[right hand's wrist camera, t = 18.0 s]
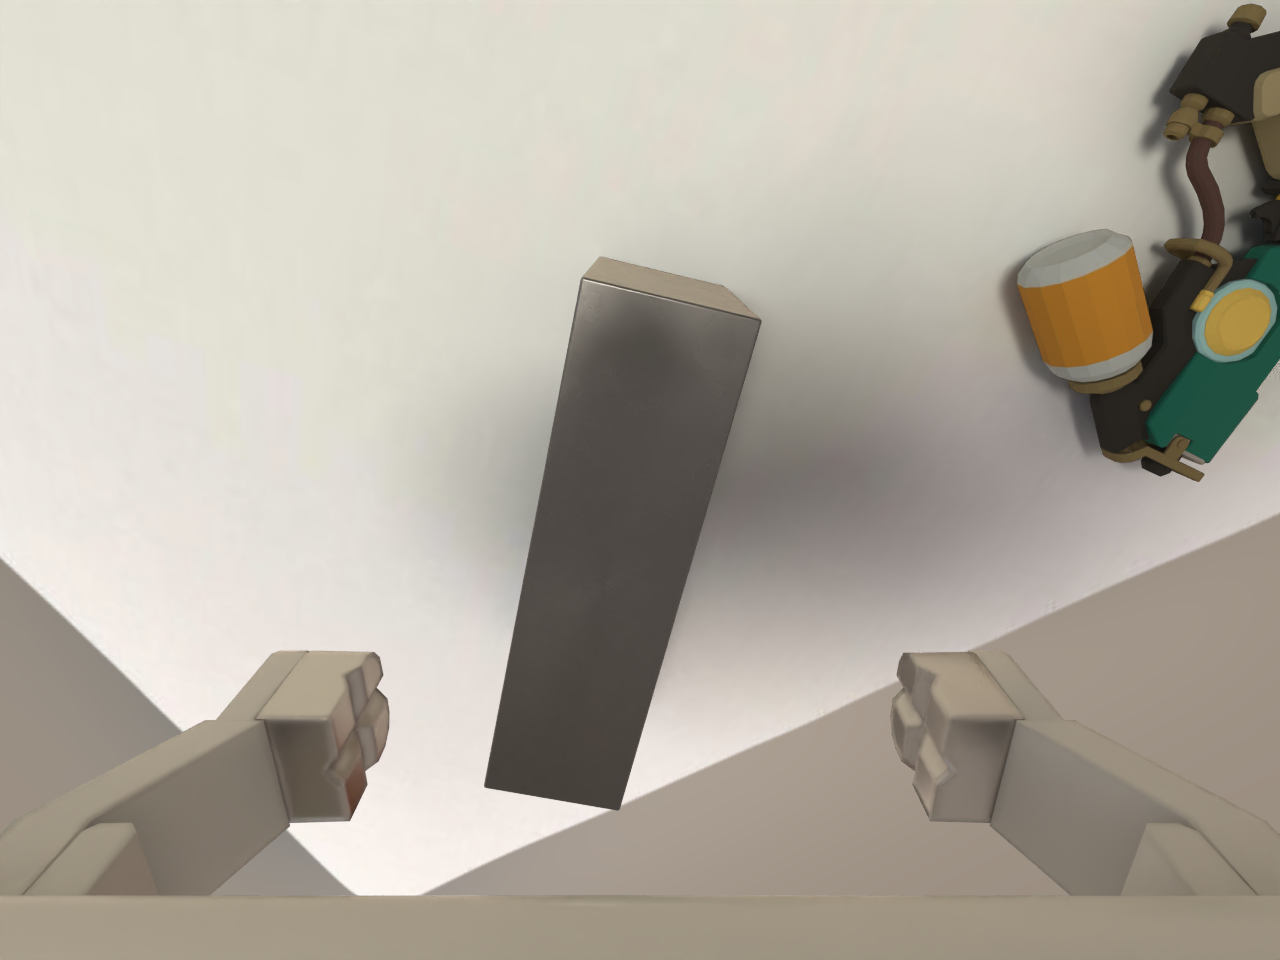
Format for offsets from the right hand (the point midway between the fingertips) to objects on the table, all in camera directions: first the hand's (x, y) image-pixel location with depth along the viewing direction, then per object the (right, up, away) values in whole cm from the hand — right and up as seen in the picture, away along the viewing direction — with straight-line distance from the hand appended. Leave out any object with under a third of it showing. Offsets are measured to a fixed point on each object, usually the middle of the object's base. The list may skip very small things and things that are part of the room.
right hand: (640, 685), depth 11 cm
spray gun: (+25, +13, +20) cm, 34 cm away
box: (-1, +3, +24) cm, 24 cm away
